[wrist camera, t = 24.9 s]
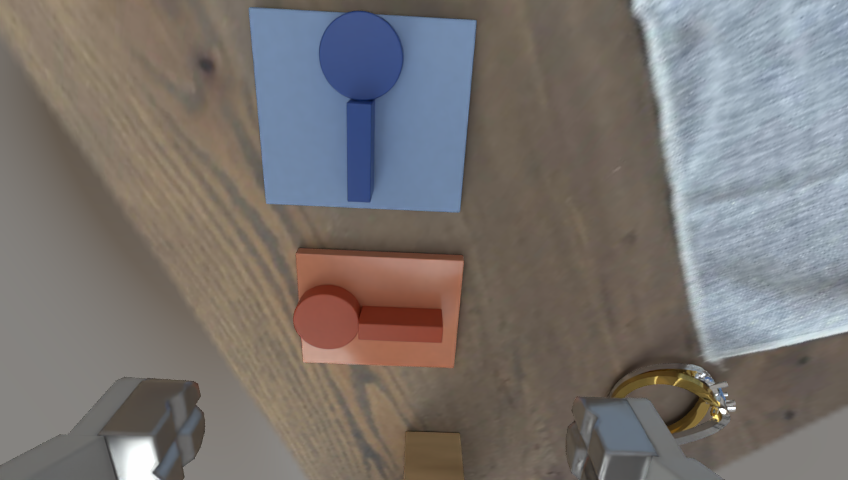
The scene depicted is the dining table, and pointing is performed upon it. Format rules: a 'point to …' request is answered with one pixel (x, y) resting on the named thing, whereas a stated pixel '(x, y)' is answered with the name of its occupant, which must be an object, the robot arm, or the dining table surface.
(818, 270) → the dining table surface
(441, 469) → the spoon stand
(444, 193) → the blue tile
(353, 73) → the blue spoon
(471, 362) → the dining table surface
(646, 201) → the dining table surface
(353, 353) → the terracotta tile
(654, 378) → the ring
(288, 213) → the dining table surface
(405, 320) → the terracotta spoon
